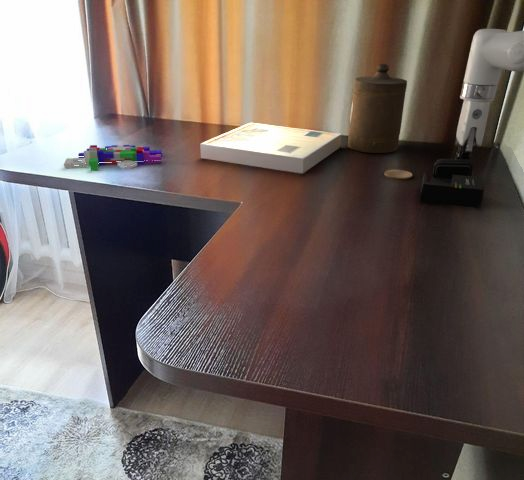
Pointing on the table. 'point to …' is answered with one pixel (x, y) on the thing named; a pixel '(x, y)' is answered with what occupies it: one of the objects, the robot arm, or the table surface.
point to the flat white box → (272, 147)
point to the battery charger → (453, 191)
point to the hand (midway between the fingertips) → (459, 172)
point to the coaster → (398, 174)
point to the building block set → (114, 157)
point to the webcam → (450, 169)
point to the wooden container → (377, 112)
